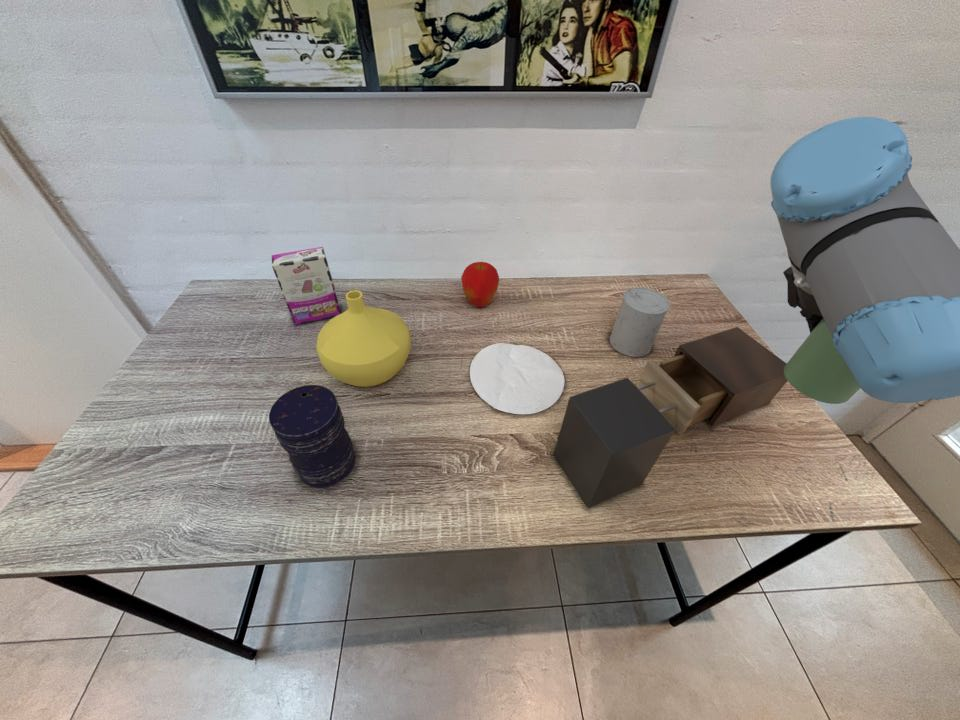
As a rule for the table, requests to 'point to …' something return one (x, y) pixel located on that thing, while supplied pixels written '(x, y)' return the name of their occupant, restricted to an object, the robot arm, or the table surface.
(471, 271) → the apple
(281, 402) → the dark blue cylinder
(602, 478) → the riser
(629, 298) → the grey concrete cylinder
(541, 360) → the plaque
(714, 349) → the cabinet
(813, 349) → the tin
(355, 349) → the vase
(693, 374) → the drawer
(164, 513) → the table surface
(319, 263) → the candy bar box
